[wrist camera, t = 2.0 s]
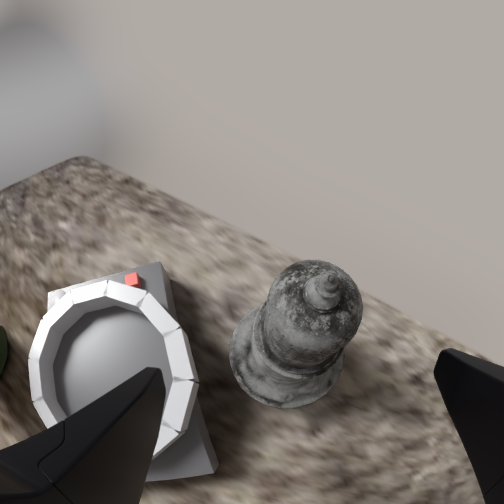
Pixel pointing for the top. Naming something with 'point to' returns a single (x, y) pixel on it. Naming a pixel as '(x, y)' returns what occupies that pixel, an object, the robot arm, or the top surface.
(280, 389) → the grey stone finial
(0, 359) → the character mug
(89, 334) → the faceted bowl on plate
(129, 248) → the top surface
